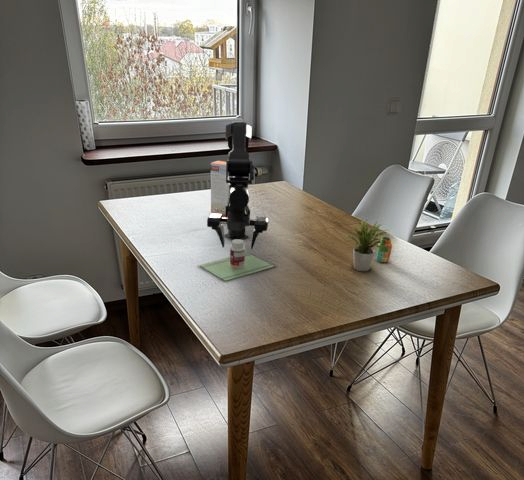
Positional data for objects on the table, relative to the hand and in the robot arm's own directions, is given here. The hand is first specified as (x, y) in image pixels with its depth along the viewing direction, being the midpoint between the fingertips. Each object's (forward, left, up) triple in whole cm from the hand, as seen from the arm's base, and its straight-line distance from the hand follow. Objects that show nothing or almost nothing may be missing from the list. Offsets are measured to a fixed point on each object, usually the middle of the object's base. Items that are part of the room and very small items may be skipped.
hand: (237, 248), depth 166 cm
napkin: (0, 0, -6) cm, 7 cm away
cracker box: (-46, +30, -7) cm, 55 cm away
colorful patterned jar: (+24, +45, -6) cm, 51 cm away
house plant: (+25, +33, -7) cm, 42 cm away
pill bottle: (0, 0, -6) cm, 6 cm away
